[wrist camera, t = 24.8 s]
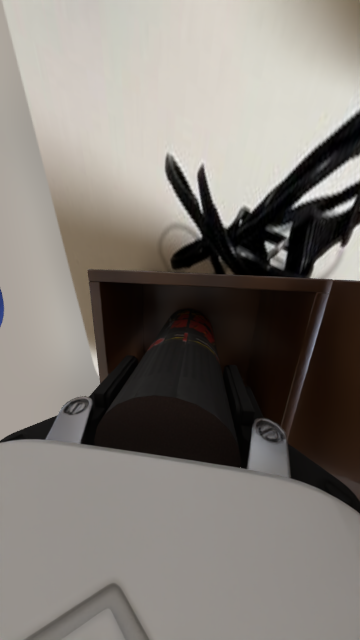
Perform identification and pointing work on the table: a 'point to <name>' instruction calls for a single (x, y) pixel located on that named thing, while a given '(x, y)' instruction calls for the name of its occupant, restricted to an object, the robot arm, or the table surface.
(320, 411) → the lid
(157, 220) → the table surface
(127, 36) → the table surface
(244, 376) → the compartment
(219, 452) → the deodorant
